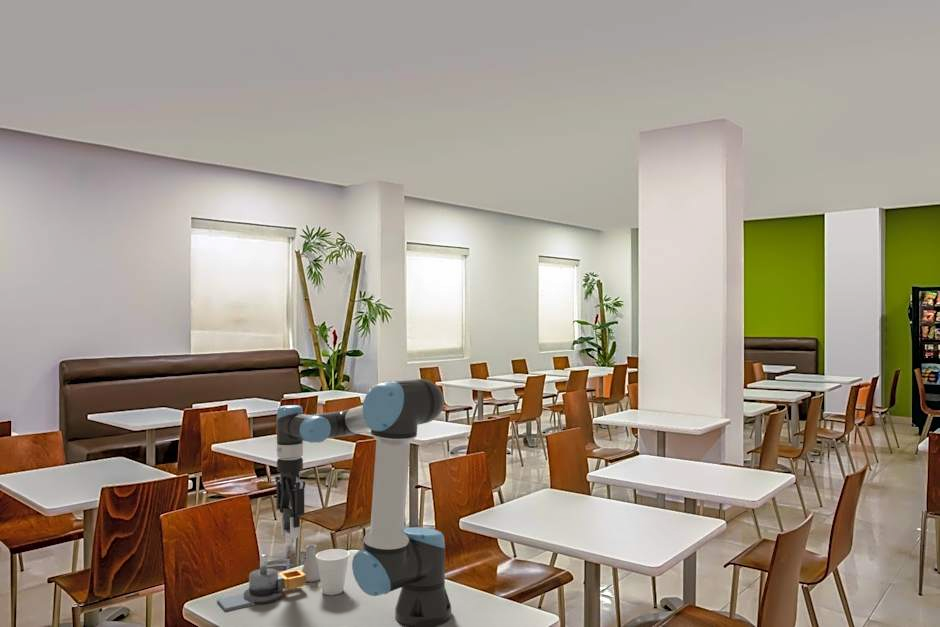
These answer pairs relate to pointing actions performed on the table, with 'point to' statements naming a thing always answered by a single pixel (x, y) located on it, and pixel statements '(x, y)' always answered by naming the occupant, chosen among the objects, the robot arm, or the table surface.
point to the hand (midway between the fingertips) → (290, 535)
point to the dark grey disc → (264, 597)
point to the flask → (311, 565)
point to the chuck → (273, 579)
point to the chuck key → (288, 533)
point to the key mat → (234, 602)
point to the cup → (332, 570)
